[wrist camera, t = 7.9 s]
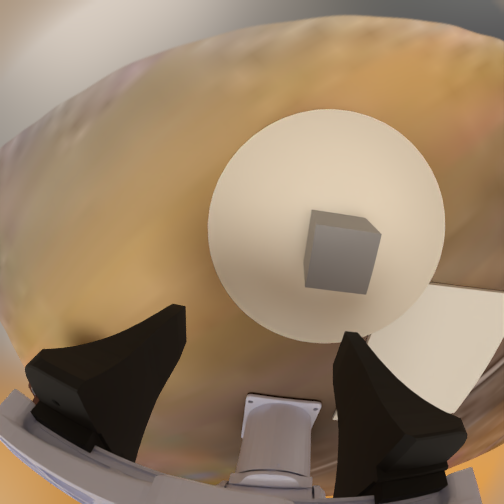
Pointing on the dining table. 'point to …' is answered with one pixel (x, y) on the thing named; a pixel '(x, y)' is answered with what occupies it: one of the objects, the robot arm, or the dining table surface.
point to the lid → (326, 225)
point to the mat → (442, 342)
